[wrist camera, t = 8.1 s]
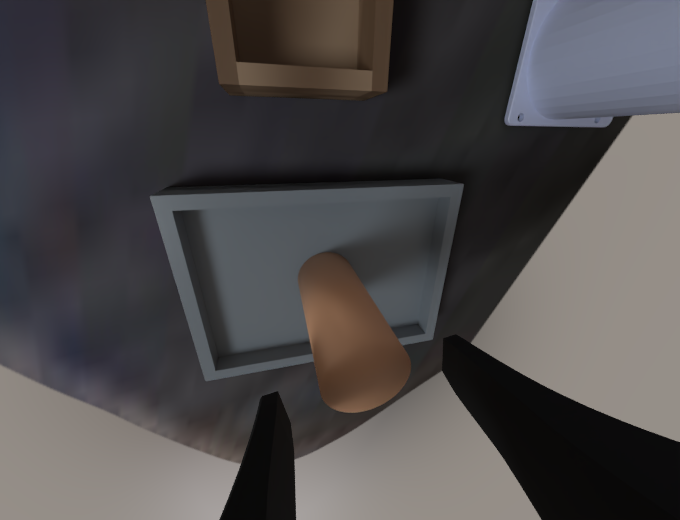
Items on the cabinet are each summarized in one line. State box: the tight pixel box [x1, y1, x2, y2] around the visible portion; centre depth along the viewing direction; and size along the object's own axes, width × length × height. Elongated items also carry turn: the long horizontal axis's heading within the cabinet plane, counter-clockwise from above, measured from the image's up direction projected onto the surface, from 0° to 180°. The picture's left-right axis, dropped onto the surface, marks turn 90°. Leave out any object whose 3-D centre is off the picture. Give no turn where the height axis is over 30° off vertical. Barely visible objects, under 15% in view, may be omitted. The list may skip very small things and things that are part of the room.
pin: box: [298, 252, 411, 413], centre depth 15 cm, size 4×4×9 cm
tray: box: [150, 179, 464, 381], centre depth 19 cm, size 18×13×2 cm
